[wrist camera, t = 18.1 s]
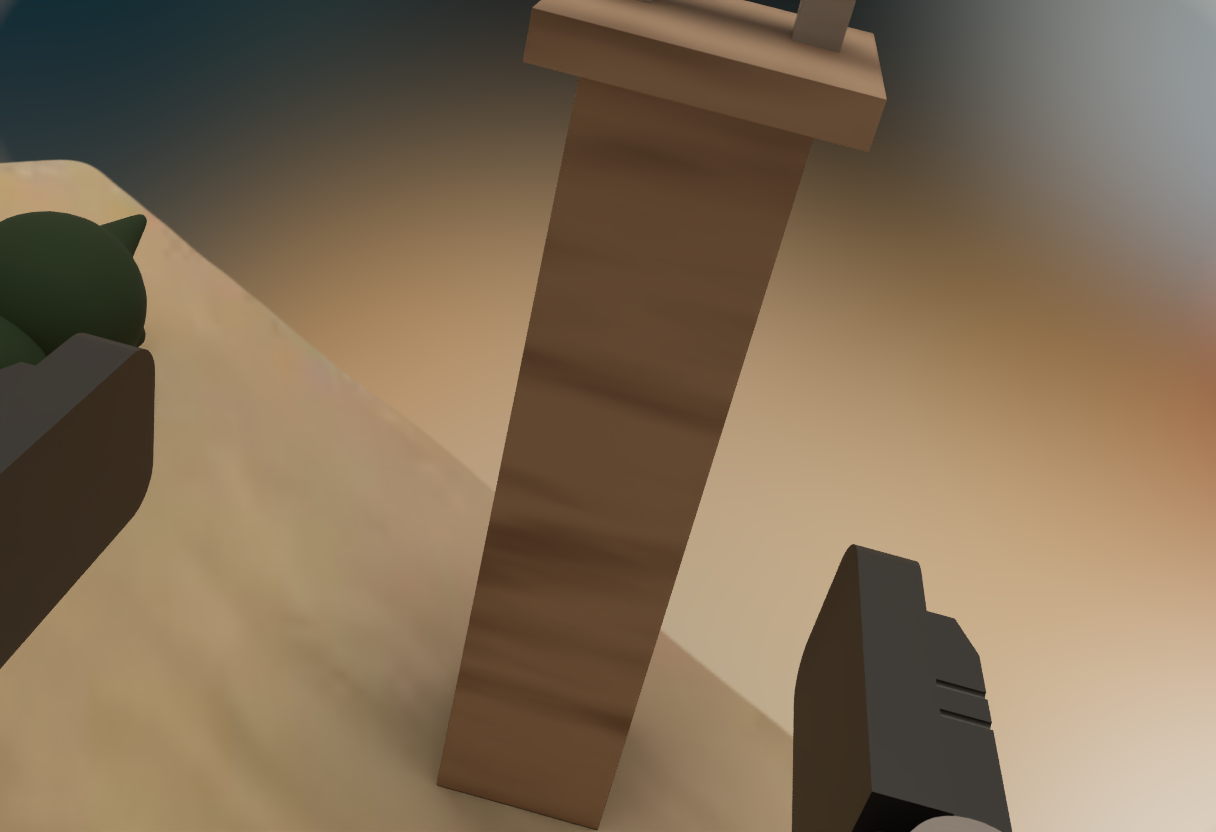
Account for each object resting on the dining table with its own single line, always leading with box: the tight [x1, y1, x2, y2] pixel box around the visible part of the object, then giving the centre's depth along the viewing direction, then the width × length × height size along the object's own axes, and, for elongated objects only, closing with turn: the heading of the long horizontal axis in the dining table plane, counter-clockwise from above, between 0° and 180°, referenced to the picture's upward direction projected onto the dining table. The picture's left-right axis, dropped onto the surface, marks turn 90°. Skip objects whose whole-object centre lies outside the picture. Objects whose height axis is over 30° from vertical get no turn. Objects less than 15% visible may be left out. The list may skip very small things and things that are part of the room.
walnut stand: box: [437, 0, 887, 830], centre depth 43 cm, size 9×10×37 cm
